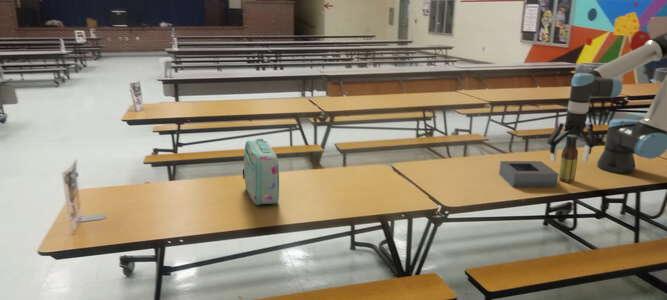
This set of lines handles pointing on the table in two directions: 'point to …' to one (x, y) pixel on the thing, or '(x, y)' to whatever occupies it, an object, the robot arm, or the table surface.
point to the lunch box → (261, 172)
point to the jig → (528, 174)
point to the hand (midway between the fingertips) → (568, 160)
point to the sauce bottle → (569, 160)
